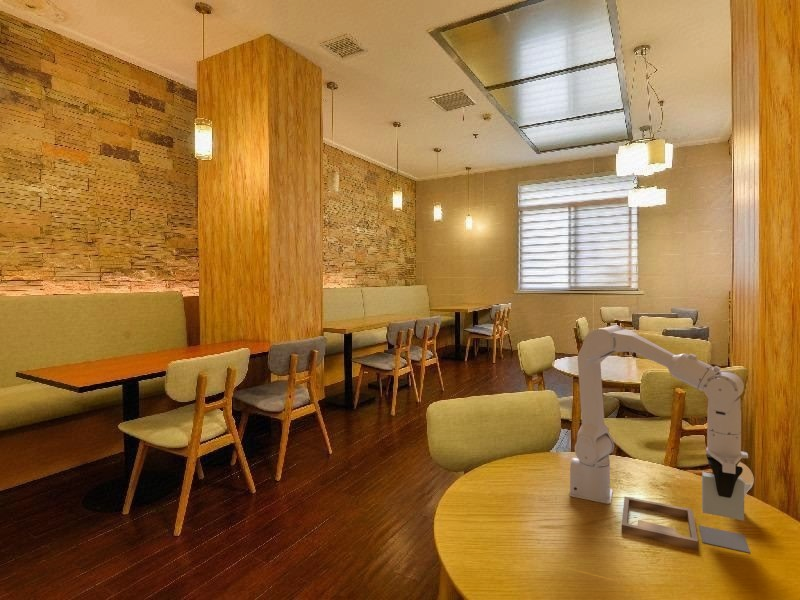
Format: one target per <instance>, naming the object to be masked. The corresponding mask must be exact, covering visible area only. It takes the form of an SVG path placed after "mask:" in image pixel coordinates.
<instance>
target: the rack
mask: <svg viewBox="0 0 800 600" xmlns="http://www.w3.org/2000/svg"><path fill="white" fill-rule="evenodd" d="M623 497H624V499H623V508H622V517H621V534H624V535H629V536H632V537H637V538H641V539H646V540H649V541H655V542H660V543H663V544H667V545H671V546H676V547H681V548H685V549H689V550H693V551H699V539H698V533H697V528H696V522H695V515H694V512H693V511H694V510H693V509H691V508H686V507H681V506H678V505H671V504H666V503H661V502H660V503H659V502H654V501H651V500H645V499H640V498H634V497H629V496H623ZM630 508H634V509H637V510H638V509H639V510H643V511H647V512H649V511H650V512H654V513H657V514H664V515H669V516H671V517H672V516H673V517H678V518H683V519H687V525H688V529H689V536H685V535H681V534H680V535H677V534H672V533H668V532H663V531H659V530H654V529H649V528H645V527H640V526H637V525H635V524H631V523H629V510H630Z"/></svg>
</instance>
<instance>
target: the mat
mask: <svg viewBox="0 0 800 600" xmlns="http://www.w3.org/2000/svg"><path fill="white" fill-rule="evenodd" d="M698 529H699V533H700V538H701V542H702V544H706V545H710V546H714V547H715V546H716V547H720V548H724V549H727V550H729V549H730V550H734V551H736V552H737V551H738V552H743V553H747V554H751V550H750V547H749V545H748V543H747V540H746V537H745V535H744V533H743V534H742V533H738V532H734V531H729V530H723V529H719V528H713V527H709V526H704V525H698Z"/></svg>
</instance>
